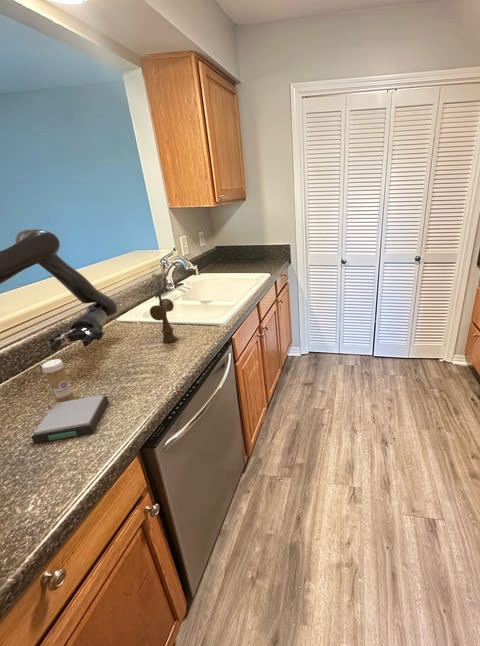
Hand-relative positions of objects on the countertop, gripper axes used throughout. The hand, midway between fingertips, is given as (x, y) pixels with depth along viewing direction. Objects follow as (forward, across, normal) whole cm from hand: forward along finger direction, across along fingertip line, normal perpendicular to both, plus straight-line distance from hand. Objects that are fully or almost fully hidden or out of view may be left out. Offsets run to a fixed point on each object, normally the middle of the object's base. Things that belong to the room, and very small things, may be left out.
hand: (69, 346), depth 98 cm
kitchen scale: (+21, +5, +13) cm, 25 cm away
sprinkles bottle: (+12, 0, +13) cm, 17 cm away
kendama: (-23, +24, +13) cm, 35 cm away
